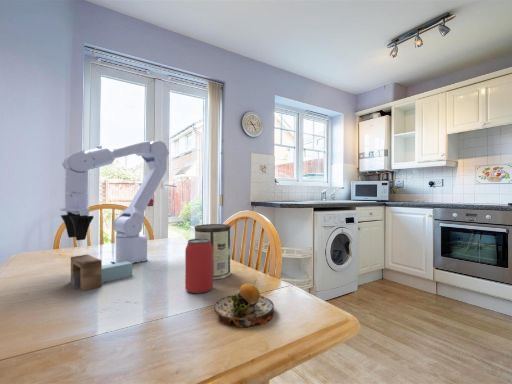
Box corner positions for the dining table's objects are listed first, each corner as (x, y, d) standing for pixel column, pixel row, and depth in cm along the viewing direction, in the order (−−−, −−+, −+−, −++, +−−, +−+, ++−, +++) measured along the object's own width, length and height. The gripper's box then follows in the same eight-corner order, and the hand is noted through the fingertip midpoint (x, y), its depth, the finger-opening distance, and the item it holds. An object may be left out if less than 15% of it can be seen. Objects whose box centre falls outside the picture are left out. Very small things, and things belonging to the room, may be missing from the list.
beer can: (217, 286, 67) (217, 238, 67) (204, 296, 61) (204, 243, 61) (194, 283, 69) (195, 237, 69) (179, 292, 63) (179, 241, 63)
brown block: (87, 278, 73) (87, 254, 73) (101, 286, 67) (101, 260, 67) (70, 282, 70) (70, 257, 70) (83, 291, 64) (83, 263, 64)
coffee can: (208, 267, 84) (208, 223, 84) (236, 272, 80) (236, 224, 80) (186, 277, 75) (186, 226, 75) (217, 282, 70) (217, 228, 70)
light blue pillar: (127, 273, 78) (127, 261, 78) (132, 275, 76) (132, 263, 76) (71, 285, 67) (71, 271, 67) (75, 288, 65) (75, 274, 65)
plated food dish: (247, 297, 61) (247, 264, 61) (287, 314, 52) (287, 276, 52) (201, 313, 53) (201, 275, 53) (239, 336, 44) (239, 291, 44)
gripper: (54, 193, 82) (54, 237, 82) (68, 193, 72) (67, 243, 72) (80, 193, 87) (80, 234, 87) (96, 193, 78) (96, 239, 77)
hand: (76, 238), depth 80 cm, fingers open, 7 cm apart
